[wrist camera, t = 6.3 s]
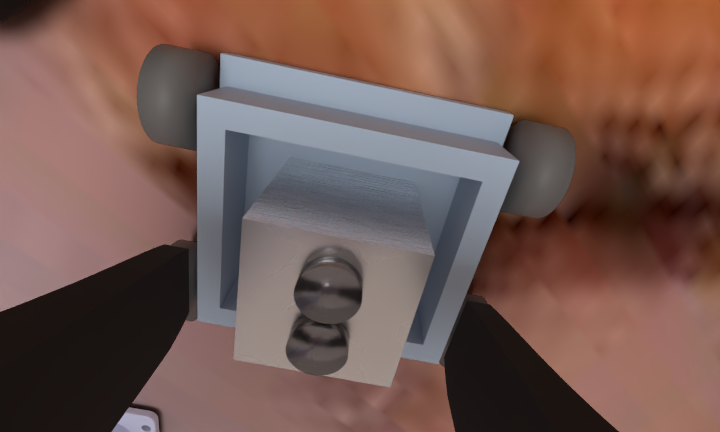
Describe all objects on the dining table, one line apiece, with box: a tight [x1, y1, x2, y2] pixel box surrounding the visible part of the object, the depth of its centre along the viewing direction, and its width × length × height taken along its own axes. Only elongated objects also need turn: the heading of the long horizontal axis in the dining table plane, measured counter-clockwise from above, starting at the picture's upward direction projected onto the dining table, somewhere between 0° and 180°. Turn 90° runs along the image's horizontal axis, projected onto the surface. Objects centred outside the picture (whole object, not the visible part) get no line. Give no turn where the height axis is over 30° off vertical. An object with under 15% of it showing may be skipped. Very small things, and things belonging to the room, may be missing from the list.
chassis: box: [137, 44, 576, 367], centre depth 13 cm, size 10×12×3 cm
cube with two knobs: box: [233, 157, 435, 387], centre depth 11 cm, size 4×4×6 cm
